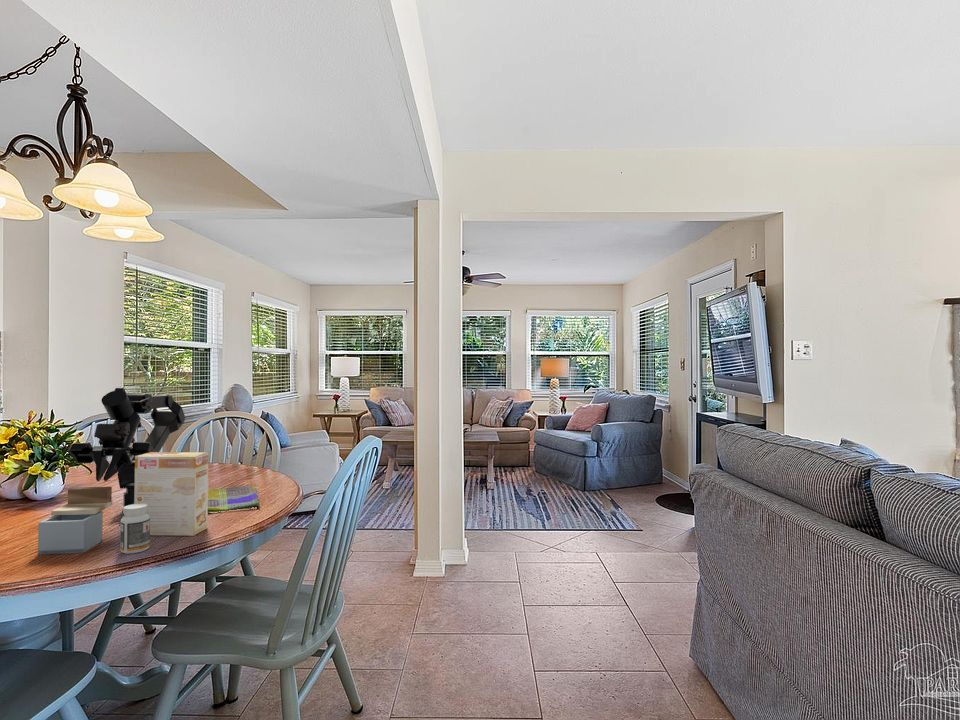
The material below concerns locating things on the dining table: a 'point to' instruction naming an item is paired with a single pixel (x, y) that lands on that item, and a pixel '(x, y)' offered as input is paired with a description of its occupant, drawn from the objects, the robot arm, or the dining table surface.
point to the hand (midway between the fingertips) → (101, 480)
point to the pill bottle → (135, 529)
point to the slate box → (69, 533)
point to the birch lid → (86, 501)
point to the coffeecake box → (173, 491)
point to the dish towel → (232, 498)
